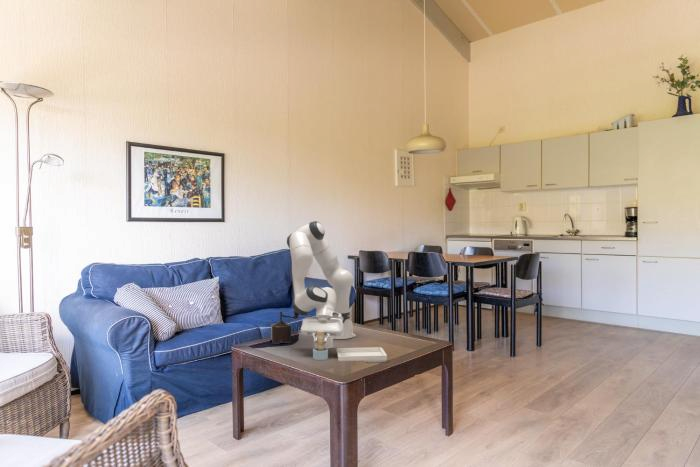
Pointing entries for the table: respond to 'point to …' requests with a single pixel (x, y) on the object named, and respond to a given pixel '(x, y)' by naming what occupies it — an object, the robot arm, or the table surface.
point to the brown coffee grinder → (282, 329)
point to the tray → (362, 354)
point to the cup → (320, 354)
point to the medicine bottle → (326, 345)
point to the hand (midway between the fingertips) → (320, 342)
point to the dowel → (320, 340)
